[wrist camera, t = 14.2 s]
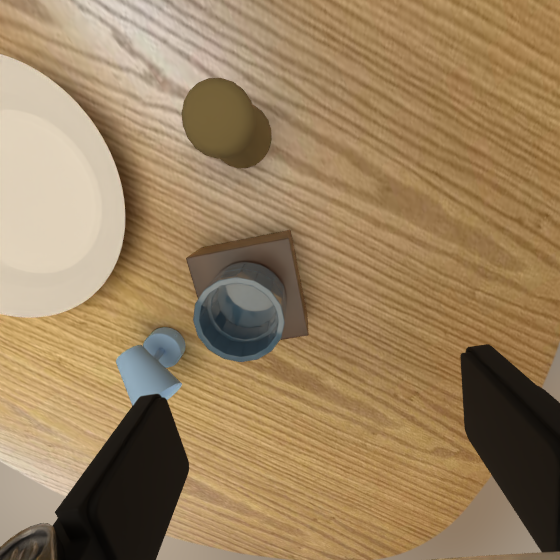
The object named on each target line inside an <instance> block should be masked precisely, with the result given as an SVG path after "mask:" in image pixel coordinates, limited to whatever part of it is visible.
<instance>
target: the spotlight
mask: <svg viewBox="0 0 560 560" xmlns="http://www.w3.org/2000/svg"><path fill="white" fill-rule="evenodd" d="M185 347H186V345H185V341H184V338H183V337H182V335H181V334H180V333H179V332H178V331H176V330H174V329H172V328H168V327H162V328H158V329H156V330H154V331H153V332H152V333H151V334H150V335H149V337H148V338H147V339H146V340H145V342H144V344H143V346H142V345H137V346H134V347H132V348H130V349H128V350H126V351H125V352H123V353H122V354H121V355H120V356H119V357H118V358H117V360H116V363H117V366H118V369H119V371H120V374H121V377H122V379H123V382H124V384H125V387H126V390H127V392H128V395H129V398H130V400H131V403H132V406H133V405H134V403H135V402H136V401H137V399H138V398H139V397H140V396H144V395H151V394H160V395H161V397H164V398H166V400H168V399H169V398H170V397H172V396H173V395H174V394H175V393H176V392H177V391H178V390H179V389H180V387H181V385H182V383H181V382H180V381H179V380H178V379H177V378H176V377H174V376H173V375H172V374H171V373H170V372H169V371H168V370H167V369H166V368H168V367H171V366H174V365H175V364H176V363H177V362H178V361H179V359H180V358H181V356H182V355H183V353H184V351H185Z"/></svg>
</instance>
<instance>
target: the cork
mask: <svg viewBox="0 0 560 560" xmlns="http://www.w3.org/2000/svg"><path fill="white" fill-rule="evenodd" d="M182 121H183V127H184V129H185V132H186V134H187V137H188V139H189V140H190V141H191V143H192V144H193V145H194V147H195V148H196V149H198V150H199V151H200V152H202V153H203V154H205V155H207V156H210V157H214V158H218V159H219V158H220V159H221V160H222V161H224V162H225V163H226V164H228V165H230V166H233V167H236V168H248V167H251V166H254V165H256V164H257V163H259V162H260V161H261V160H262V159H263V158H264V157H265V155H266V154H267V152H268V150H269V147H270V143H271V128H270V125H269V122H268V119H267V118H266V117H265V115H264V114H263V112H262V111H261V110H259V109H258V108H257V107H255V106H254V105H252V102H251V100H250V99H249V97H248V96H247V94H246V93H245V92H244V90H243V89H242V88H240V87H239V86H238V85H236V84H235V83H234V82H232V81H229V80H226V79H222V78H209V79H206V80H204V81H201V82H199V83H197V84H196V85H195V86H194V87H193V88H192V89H191V90H190V91H189V93H188V95H187V97H186V98H185V100H184V104H183V109H182Z"/></svg>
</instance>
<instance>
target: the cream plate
mask: <svg viewBox="0 0 560 560" xmlns="http://www.w3.org/2000/svg"><path fill="white" fill-rule="evenodd" d="M124 231H125V204H124V196H123V190H122V185H121V181H120V178H119V174H118V171H117V168H116V165H115V162H114V160H113V158H112V155H111V153H110V151H109V149H108V147H107V145H106V143H105V141H104V139H103V137H102V136H101V134H100V132H99V131H98V129H97V128H96V126H95V125H94V123H93V122H92V120H91V119H90V118H89V116H88V115H87V114H86V113H85V111H84V110H83V109H82V108H81V107H80V106H79V104H78V103H77V102H76V101H75V100H74V99H73V98H72V97H71V96H70V95H69V94H68V93H67V92H65V91H64V90H63V89H62V88H61V87H60V86H59V85H57V84H56V83H55V82H54V81H52V80H51V79H49V78H48V77H47V76H45V75H44V74H42V73H41V72H39V71H37V70H36V69H34V68H32V67H30V66H29V65H27V64H25V63H23V62H20V61H18V60H16V59H13V58H11V57H8V56H5V55H2V54H0V314H4V315H9V316H15V317H44V316H50V315H55V314H59V313H62V312H65V311H67V310H70V309H72V308H74V307H76V306H78V305H80V304H81V303H83V302H84V301H86V300H87V299H89V298H90V297H91V296H92V295H93V294H95V293H96V292H97V291H98V290H99V289H100V287H101V286H102V285H103V284H104V283H105V281H106V280H107V278H108V277H109V275H110V274H111V272H112V270H113V268H114V266H115V264H116V262H117V260H118V257H119V254H120V251H121V247H122V243H123V238H124Z"/></svg>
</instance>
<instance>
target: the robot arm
mask: <svg viewBox="0 0 560 560" xmlns="http://www.w3.org/2000/svg"><path fill="white" fill-rule="evenodd" d="M461 373H462V390H463V407H464V424H465V431H466V434H467V437H468V439H469V441H470V442H471V444H472V445H473V447H474V448H475V450H476V451H477V453H478V455H479V456H480V458H481V459H482V461H483V462H484V464H485V465H486V467H487V468H488V470H489V471H490V473H491V475H492V476H493V478H494V479H495V481H496V482H497V484H498V485H499V487H500V488H501V490H502V491H503V493H504V495H505V496H506V498H507V499H508V501H509V502H510V504H511V505H512V507H513V508H514V510H515V511H516V513H517V515H518V516H519V518H520V519H521V521H522V522H523V524H524V525H525V527H526V528H527V530H528V531H529V533H530V535H531V536H532V537H533V539H534V541H535V542H536V544H537V545H538V547H539V548H540V550H541V551H542V553H524V554H507V555H489V556H473V557H459V558H446V559H434V560H560V403H559V402H558V401H557V400H556V399H554V398H553V397H552V396H551V395H550V394H549V393H547V392H546V391H545V390H544V389H542V388H541V387H539V386H537V385H535V384H534V383H533V382H532V381H531V380H530V379H529V378H527V377H526V376H525V375H524V374H523V373H522V372H521V371H519V370H518V369H517V368H516V367H515V366H514V365H513V364H511V363H510V362H509V361H508V360H507V359H506V358H505V357H503V356H502V355H501V354H500V353H499V352H498V351H496V350H495V349H494V348H493V347H492V346H490V345H488V344H486V345H480V346H473V347H468V348H467V349H466V353H462V354H461ZM188 472H189V462H188V458H187V456H186V453H185V450H184V447H183V444H182V442H181V439H180V436H179V433H178V430H177V427H176V425H175V422H174V419H173V416H172V413H171V411H170V408H169V405H168V402H167V400H166V398H164V397H161V395H160V394H151V395H144V396H140V397H139V398H138V399H137V401H136V402H135V403H134V405H133V406H132V408H131V409H130V410H129V412H128V413H127V414H126V416H125V417H124V418H123V420H122V421H121V423H120V424H119V425H118V427H117V428H116V429H115V431H114V432H113V434H112V435H111V436H110V438H109V439H108V440H107V442H106V443H105V444H104V446H103V447H102V449H101V450H100V451H99V453H98V454H97V455H96V457H95V458H94V459H93V461H92V462H91V464H90V465H89V466H88V468H87V469H86V470H85V472H84V473H83V475H82V476H81V477H80V479H79V480H78V481H77V483H76V484H75V485H74V487H73V488H72V490H71V491H70V492H69V494H68V495H67V496H66V498H65V499H64V500H63V502H62V503H61V505H60V506H59V507H58V509H57V510H56V511H55V513H56V515H57V517H58V519H57V520H56V522H55V523H54V525H53V526H52V525H50V524H48V523H40V524H37V525H33V526H30V527H28V528H26V529H25V530H23V531H21V532H19V533H18V534H16V535H15V536H14V537H12V538H10V539H9V540H8V541H7V542H5V543H4V544H3V545H2V546H1V547H0V560H156V558H157V555H158V552H159V550H160V547H161V544H162V542H163V539H164V536H165V534H166V531H167V528H168V526H169V523H170V520H171V518H172V515H173V512H174V510H175V507H176V505H177V502H178V499H179V497H180V494H181V491H182V489H183V486H184V483H185V481H186V478H187V475H188Z"/></svg>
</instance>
